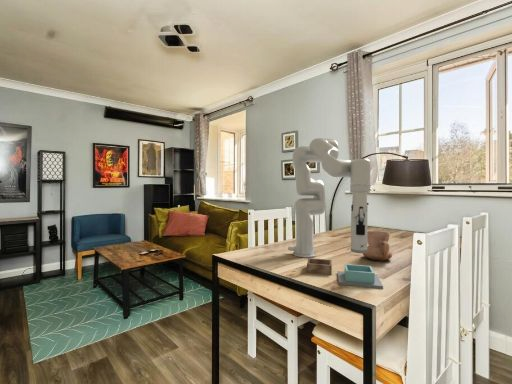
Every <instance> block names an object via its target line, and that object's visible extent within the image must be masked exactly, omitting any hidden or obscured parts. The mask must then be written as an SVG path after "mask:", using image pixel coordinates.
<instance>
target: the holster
mask: <svg viewBox="0 0 512 384" xmlns="http://www.w3.org/2000/svg"><path fill="white" fill-rule="evenodd" d="M332 263H333V262H332V259H327V258H326V259H324V258H313V257H308V258H307V262H306V273H307V274H316V275H317V274H318V275H327V276H328V275H330V276H331V275H332V274H333V273H332V269H333V268H332V267H333V266H332Z"/></svg>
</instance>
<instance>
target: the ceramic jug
mask: <svg viewBox="0 0 512 384" xmlns="http://www.w3.org/2000/svg"><path fill="white" fill-rule="evenodd" d="M390 236H391V234H390V232H389V231H384V230H383V231H381V230H367V252H366V253H362V256H363V257H365V258H367V259H369V260H372V261H378V262H380V261H381V262H383V261H388V260H390V259H391V258H392V257H393V252H392V251H391V250H390V243H389V240H390Z"/></svg>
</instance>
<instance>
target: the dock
mask: <svg viewBox="0 0 512 384" xmlns="http://www.w3.org/2000/svg"><path fill="white" fill-rule="evenodd" d="M337 280H338V285H341V286H351V287H362V288H370V289H381V290H382V289H384V285H383V283H382V281H381V280H380V277H379V275H378V274H377V273H375V271H374V269H373V268H372V265H361V264H351V263H349V264H348V263H344V271H342V270H341V271H339V270H337Z"/></svg>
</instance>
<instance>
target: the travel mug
mask: <svg viewBox="0 0 512 384" xmlns="http://www.w3.org/2000/svg"><path fill="white" fill-rule="evenodd" d="M368 205H370V204H369V202H367V206H368ZM368 213H369V211H368V210H367V215H366V218H364V220H365V235H356V225H357V216H355V218H354V217H353V205H352V204H351V210H350V251H351V252H352V253H357V254H363V253H366V252H367V246H368V242H367V231H368V217H369V216H368V215H369V214H368ZM364 216H365V214H364ZM358 217H360V215H358Z"/></svg>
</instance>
